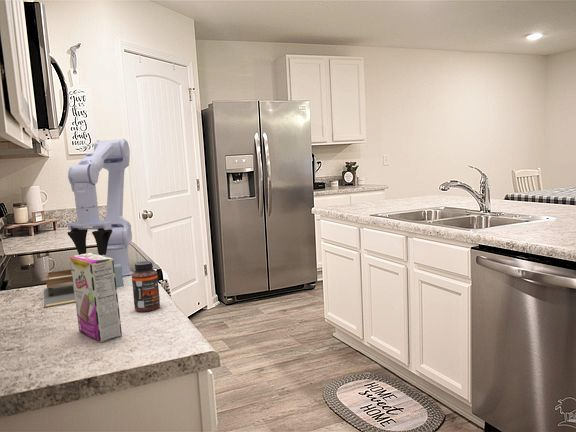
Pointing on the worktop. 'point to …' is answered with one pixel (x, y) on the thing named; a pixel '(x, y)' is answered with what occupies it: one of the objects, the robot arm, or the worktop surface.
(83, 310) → the candy bar box
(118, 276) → the block
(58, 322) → the worktop surface
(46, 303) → the plate
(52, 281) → the shallow wooden tray
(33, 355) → the worktop surface
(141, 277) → the supplement bottle
